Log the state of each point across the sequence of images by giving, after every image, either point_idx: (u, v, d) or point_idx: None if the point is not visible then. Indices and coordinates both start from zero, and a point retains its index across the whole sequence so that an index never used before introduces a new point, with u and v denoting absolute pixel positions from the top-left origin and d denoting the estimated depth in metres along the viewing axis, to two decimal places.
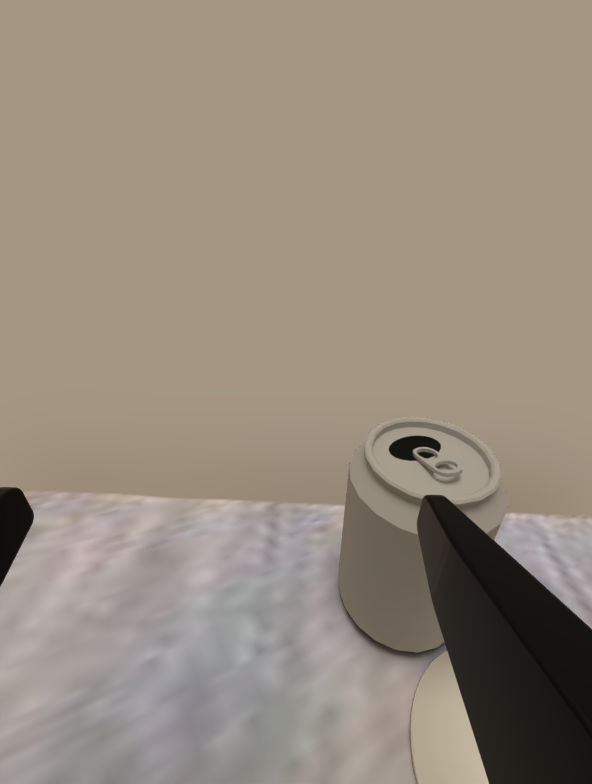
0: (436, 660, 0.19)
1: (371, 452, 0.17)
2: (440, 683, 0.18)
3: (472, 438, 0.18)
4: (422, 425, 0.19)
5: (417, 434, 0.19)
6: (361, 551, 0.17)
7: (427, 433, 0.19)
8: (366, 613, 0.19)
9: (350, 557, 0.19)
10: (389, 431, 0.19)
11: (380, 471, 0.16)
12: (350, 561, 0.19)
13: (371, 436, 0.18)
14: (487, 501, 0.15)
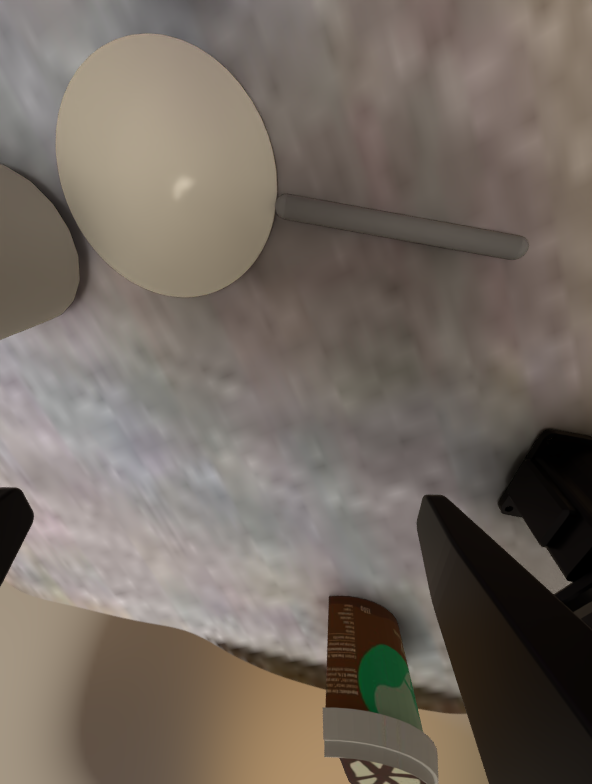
0: (84, 233, 0.17)
1: None
2: (105, 240, 0.17)
3: None
4: None
5: None
6: None
7: None
8: (40, 319, 0.17)
9: None
10: None
11: None
12: None
13: None
14: None
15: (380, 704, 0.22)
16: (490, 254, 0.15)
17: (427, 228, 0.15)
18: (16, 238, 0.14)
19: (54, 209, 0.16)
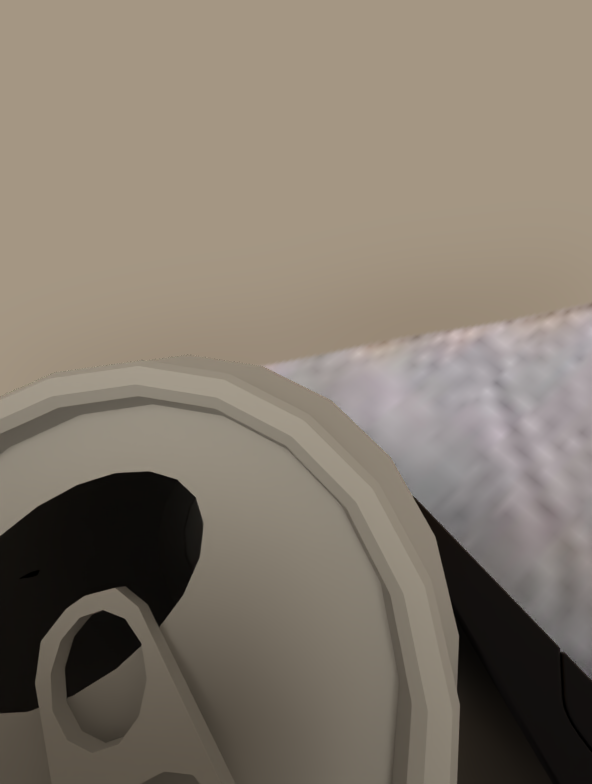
0: None
1: None
2: None
3: (344, 495, 0.03)
4: (132, 404, 0.04)
5: (110, 465, 0.04)
6: None
7: (157, 446, 0.04)
8: None
9: (98, 655, 0.08)
10: None
11: None
12: (107, 649, 0.09)
13: None
14: None
15: None
16: None
17: None
18: None
19: None
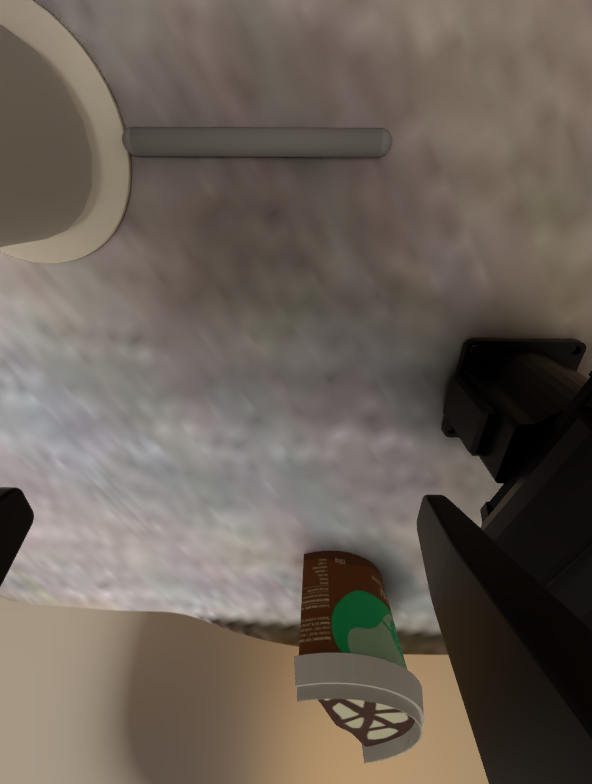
0: None
1: None
2: None
3: None
4: None
5: None
6: None
7: None
8: (46, 227, 0.14)
9: None
10: None
11: None
12: None
13: None
14: None
15: (353, 645, 0.22)
16: (354, 154, 0.15)
17: (280, 136, 0.14)
18: (29, 107, 0.11)
19: (66, 90, 0.13)
